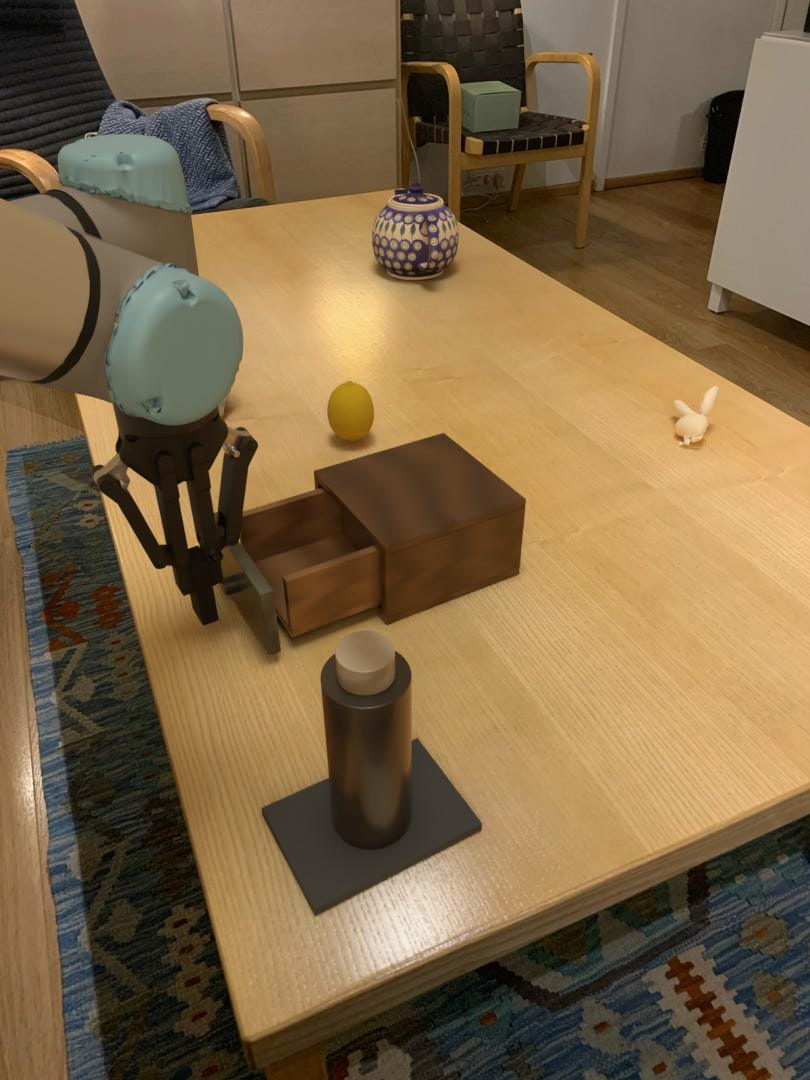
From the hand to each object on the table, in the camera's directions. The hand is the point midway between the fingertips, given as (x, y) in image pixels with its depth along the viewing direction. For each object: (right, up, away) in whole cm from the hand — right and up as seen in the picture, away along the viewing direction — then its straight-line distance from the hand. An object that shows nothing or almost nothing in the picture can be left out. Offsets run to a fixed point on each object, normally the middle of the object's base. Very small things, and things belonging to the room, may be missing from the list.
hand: (205, 614), depth 77 cm
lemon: (+11, +18, +29) cm, 36 cm away
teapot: (+19, +54, +77) cm, 96 cm away
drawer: (+8, +2, +4) cm, 9 cm away
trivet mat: (+15, -14, -15) cm, 25 cm away
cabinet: (+19, +5, +10) cm, 22 cm away
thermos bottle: (+15, -13, -16) cm, 25 cm away
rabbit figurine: (+53, +20, +30) cm, 64 cm away
